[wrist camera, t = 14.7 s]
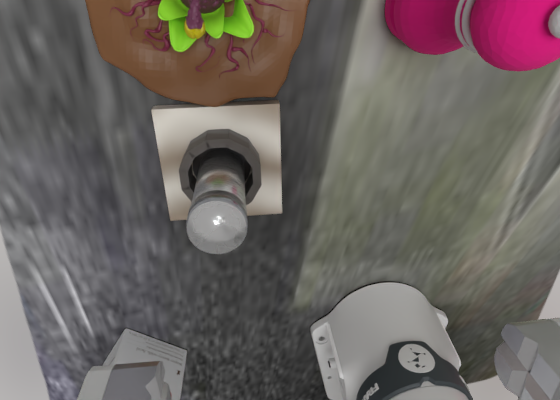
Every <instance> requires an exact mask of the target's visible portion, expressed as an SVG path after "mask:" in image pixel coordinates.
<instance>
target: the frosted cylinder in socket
mask: <svg viewBox="0 0 560 400" xmlns="http://www.w3.org/2000/svg"><path fill="white" fill-rule="evenodd" d="M186 230H187V234H188V237H189V239H190V241H191V242H192V243H193V244H194V245H195V246H196V247H197V248H198V249H200V250H202V251H204V252H207V253H211V254H224V253H228V252H230V251H232V250H234V249H236V248H237V247H238V246H239V245H240V244H241V243H242V242H243V240H244V238H245V236H246V234H247V230H248V218H247V210H246V200H245V175H244V162H243V159H242V157H241V156H240V155H239V153H237V152H236V151H233V150H231V149H229V148H227V147H225V148H212V149H210V150H208V151H207V152H206V153H205V154H204V155H203V157H202V159H201V162H200V167H199V171H198V176H197V181H196V185H195V190H194V195H193V200H192V204H191V206H190V208H189V212H188V216H187V221H186Z"/></svg>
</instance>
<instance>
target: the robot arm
mask: <svg viewBox="0 0 560 400" xmlns="http://www.w3.org/2000/svg"><path fill="white" fill-rule="evenodd" d="M447 324H448V319H447V316H446V314H445V313H444V312H443V311H441V310H439V309H437V308H435V307H433V306H432V305H431V304H430V303H429V302H428V300H427V299H426V297H425V296H424V295H423V294H422V293H421V292H420V291H418V290H417V289H415V288H413V287H411V286H409V285H405V284H401V283H392V282H388V283H378V284H373V285H369V286H366V287H363V288H361V289H359V290H357V291H355V292H353V293H351V294H350V295H348V296H347V297H345V298H344V299H343V300H342V301H341V302H340V303H339V304H338V305H337V306H336V307H335V308H334V309H333V311H332V312H331V313H330V314H329V315H327V316H325V317H324V318H322V319H320V320H318V321H317V322H315V323H314V324H313V325H312V326H311V328H310V332H311V336H312V340H313V344H314V348H315V352H316V356H317V360H318V364H319V367H320V371H321V375H322V379H323V383H324V387H325V391H326V394H327V396H328V398H329V399H332V400H473V398H472V396H471V395H470V392H469V389H468V387H467V385H466V383H465V381H464V379H463V378H462V377H461V376H460V374H459V372H458V371H459V367H460V366H461V361H460V358H459V356H458V354H457V352H456V350H455V348H454V346H453V344H452V342H451V340H450V338H449V336H448V334H447V332H446V330H445V328H446V326H447ZM501 336H502V338H503V339H504V342H503V343H502V344H501V345H500V346H499V347H497V349H496V353H495V357H494V361H495V367H496V371H497V374H498V376H499V378H500V380H501V381H502V383H503V385H504V386H505V388H506V389H507V390H509V391H511V392H512V393H514V394H515V395H517V396H518V400H560V318H553V319H541V320H533V321H524V322H516V323H508V324H507V325H506V326H504V327H503V330H502V333H501ZM164 376H165V369H164V365H163V362H162V361H151V362H138V363H126V364H115V365H104V366H93V367H92V368H91V369H90V370H89V372H88V373H87V375H86V377H85V380H84V383H83V385H82V388H81V391H80V393H79V396H78V398H77V400H171V394H170V388H169V384H167V383H166V382H164Z"/></svg>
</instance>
